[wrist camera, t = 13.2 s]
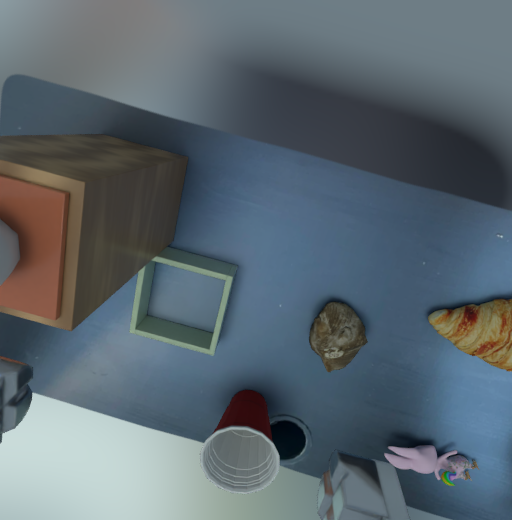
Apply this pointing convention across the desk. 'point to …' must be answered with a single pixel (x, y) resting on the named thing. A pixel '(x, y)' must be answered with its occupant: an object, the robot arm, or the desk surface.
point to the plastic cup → (241, 447)
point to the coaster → (35, 246)
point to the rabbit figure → (431, 462)
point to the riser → (100, 210)
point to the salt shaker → (8, 251)
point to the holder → (171, 330)
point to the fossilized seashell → (337, 335)
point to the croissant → (479, 330)
